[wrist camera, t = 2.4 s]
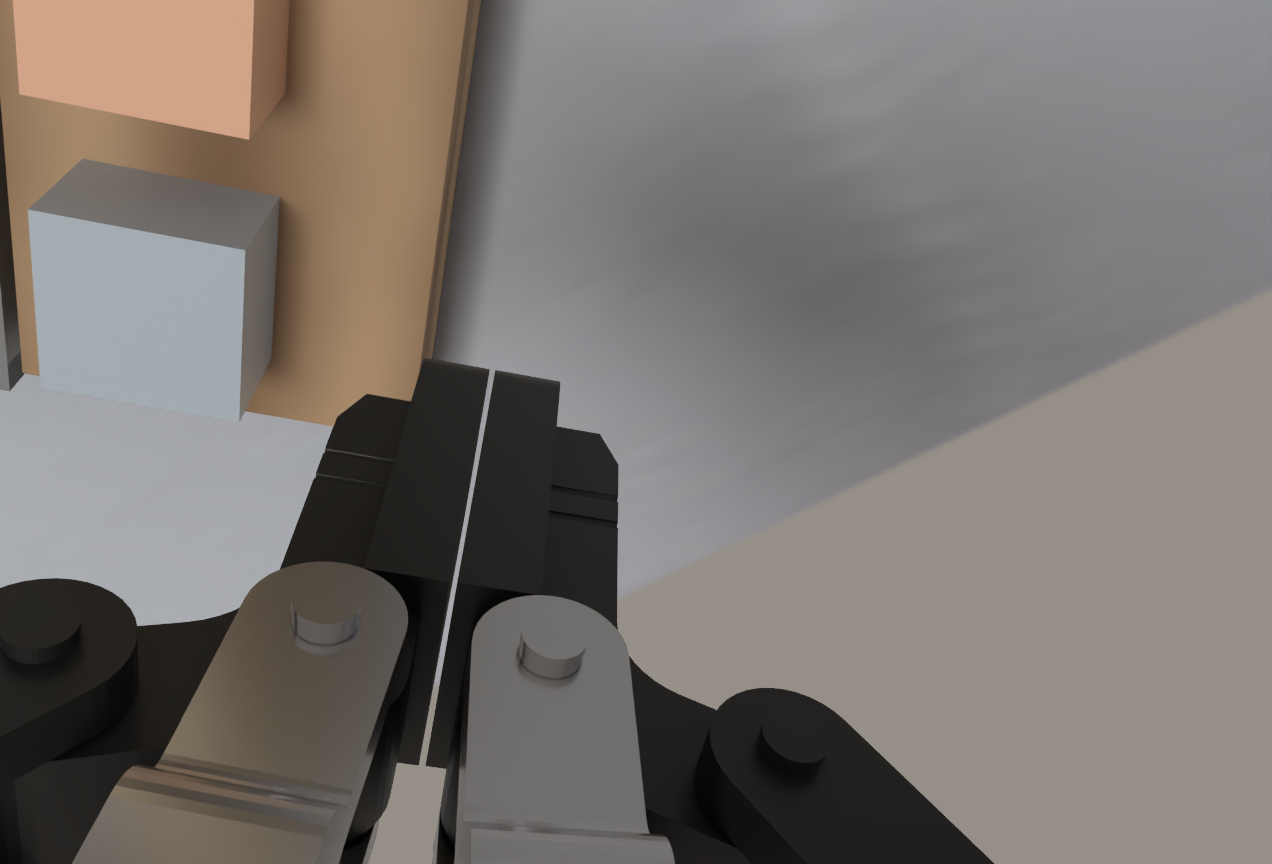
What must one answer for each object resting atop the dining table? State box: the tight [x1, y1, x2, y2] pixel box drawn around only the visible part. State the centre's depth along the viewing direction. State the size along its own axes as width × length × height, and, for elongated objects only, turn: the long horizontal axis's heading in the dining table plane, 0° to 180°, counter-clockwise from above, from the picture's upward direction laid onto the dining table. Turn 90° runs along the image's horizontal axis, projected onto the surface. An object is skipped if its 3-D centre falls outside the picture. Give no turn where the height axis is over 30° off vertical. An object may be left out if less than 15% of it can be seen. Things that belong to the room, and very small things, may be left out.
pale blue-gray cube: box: [28, 159, 280, 422], centre depth 28 cm, size 4×4×3 cm
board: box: [0, 0, 481, 426], centre depth 29 cm, size 10×15×4 cm, turn 168°
